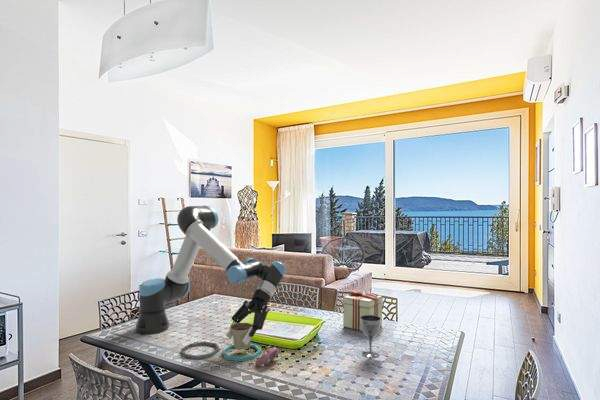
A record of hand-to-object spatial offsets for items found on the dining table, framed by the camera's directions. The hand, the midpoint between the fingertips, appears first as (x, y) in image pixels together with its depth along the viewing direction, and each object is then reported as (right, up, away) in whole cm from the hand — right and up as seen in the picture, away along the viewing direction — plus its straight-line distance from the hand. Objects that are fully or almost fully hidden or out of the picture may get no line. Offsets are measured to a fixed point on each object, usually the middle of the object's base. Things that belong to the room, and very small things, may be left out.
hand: (236, 340), depth 150 cm
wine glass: (+55, -6, +1) cm, 55 cm away
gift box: (+57, -7, +37) cm, 69 cm away
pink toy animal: (+13, -7, -7) cm, 16 cm away
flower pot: (+2, -4, +2) cm, 5 cm away
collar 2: (+2, -6, +2) cm, 7 cm away
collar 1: (-16, -6, +4) cm, 17 cm away
